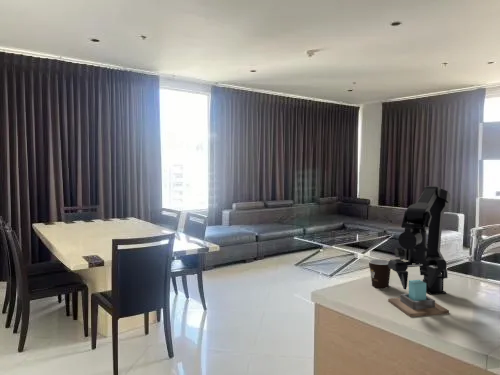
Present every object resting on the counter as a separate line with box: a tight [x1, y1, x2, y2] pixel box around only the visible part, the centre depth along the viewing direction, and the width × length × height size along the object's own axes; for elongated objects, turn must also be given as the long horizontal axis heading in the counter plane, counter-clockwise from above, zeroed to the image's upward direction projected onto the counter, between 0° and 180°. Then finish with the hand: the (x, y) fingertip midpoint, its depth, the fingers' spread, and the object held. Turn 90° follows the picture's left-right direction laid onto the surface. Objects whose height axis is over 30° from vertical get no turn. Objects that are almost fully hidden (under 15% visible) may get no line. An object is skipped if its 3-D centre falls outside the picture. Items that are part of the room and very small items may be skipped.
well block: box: [387, 293, 450, 318], centre depth 131 cm, size 14×14×4 cm
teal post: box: [408, 279, 427, 301], centre depth 130 cm, size 4×4×8 cm
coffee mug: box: [368, 258, 392, 289], centre depth 155 cm, size 12×9×10 cm
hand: (417, 288), depth 130 cm, fingers open, 9 cm apart
